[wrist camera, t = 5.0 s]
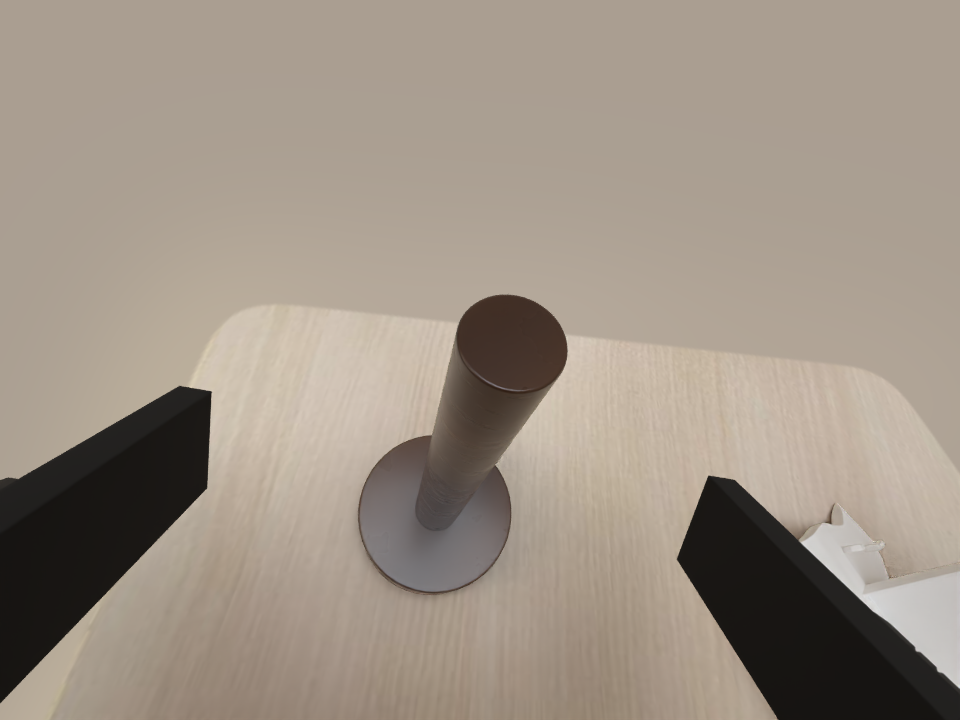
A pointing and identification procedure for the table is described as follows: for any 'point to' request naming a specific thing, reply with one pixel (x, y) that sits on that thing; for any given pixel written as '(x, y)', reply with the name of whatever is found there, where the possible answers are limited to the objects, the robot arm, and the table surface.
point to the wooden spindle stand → (462, 452)
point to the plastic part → (894, 589)
